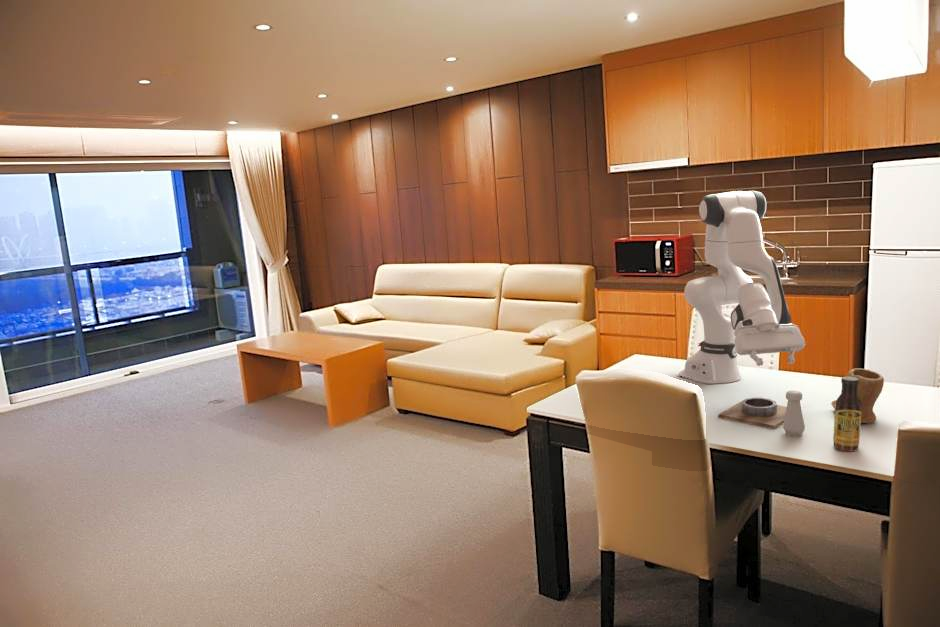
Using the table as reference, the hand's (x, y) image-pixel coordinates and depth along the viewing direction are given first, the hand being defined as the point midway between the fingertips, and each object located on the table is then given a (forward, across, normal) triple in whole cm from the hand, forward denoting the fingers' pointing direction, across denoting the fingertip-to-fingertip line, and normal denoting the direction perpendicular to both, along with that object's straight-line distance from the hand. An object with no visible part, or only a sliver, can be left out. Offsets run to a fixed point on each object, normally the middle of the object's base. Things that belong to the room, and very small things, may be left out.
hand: (776, 363), depth 206 cm
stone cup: (+14, -24, -12) cm, 30 cm away
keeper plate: (+9, +3, -17) cm, 19 cm away
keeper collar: (+9, +3, -17) cm, 19 cm away
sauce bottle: (+30, -9, +4) cm, 32 cm away
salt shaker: (+22, 0, -4) cm, 22 cm away
